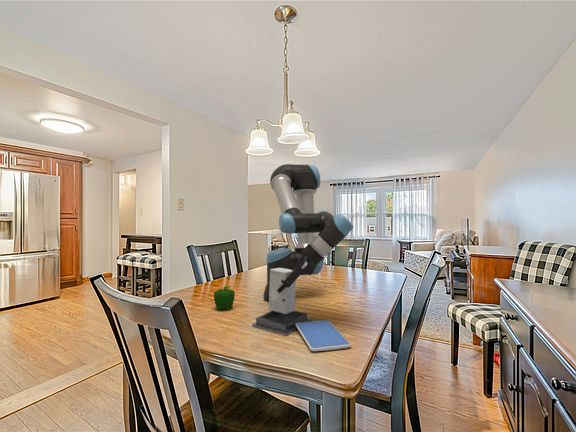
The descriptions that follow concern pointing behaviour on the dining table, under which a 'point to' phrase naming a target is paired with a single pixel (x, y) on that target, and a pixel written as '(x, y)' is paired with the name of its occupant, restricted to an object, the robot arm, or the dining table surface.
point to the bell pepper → (224, 298)
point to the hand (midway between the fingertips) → (273, 294)
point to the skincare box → (287, 298)
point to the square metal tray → (280, 322)
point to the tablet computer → (322, 335)
